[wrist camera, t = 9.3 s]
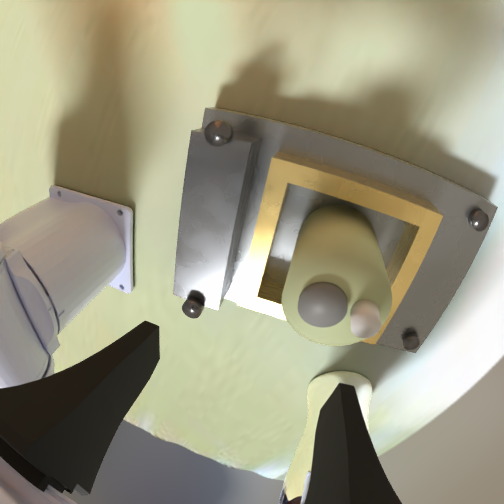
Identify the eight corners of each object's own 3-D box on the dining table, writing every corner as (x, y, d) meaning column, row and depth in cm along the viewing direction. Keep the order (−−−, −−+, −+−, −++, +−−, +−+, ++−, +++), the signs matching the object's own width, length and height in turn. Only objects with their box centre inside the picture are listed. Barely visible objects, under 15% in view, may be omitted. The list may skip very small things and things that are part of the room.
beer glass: (368, 359, 22) (362, 539, 9) (382, 403, 25) (376, 548, 12) (291, 374, 25) (250, 536, 12) (315, 415, 27) (289, 549, 14)
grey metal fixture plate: (190, 272, 23) (161, 309, 19) (214, 107, 17) (179, 109, 13) (412, 339, 21) (421, 384, 17) (487, 199, 15) (522, 227, 11)
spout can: (291, 267, 19) (268, 349, 13) (305, 196, 16) (289, 255, 10) (363, 283, 18) (370, 369, 12) (385, 215, 16) (414, 283, 10)
